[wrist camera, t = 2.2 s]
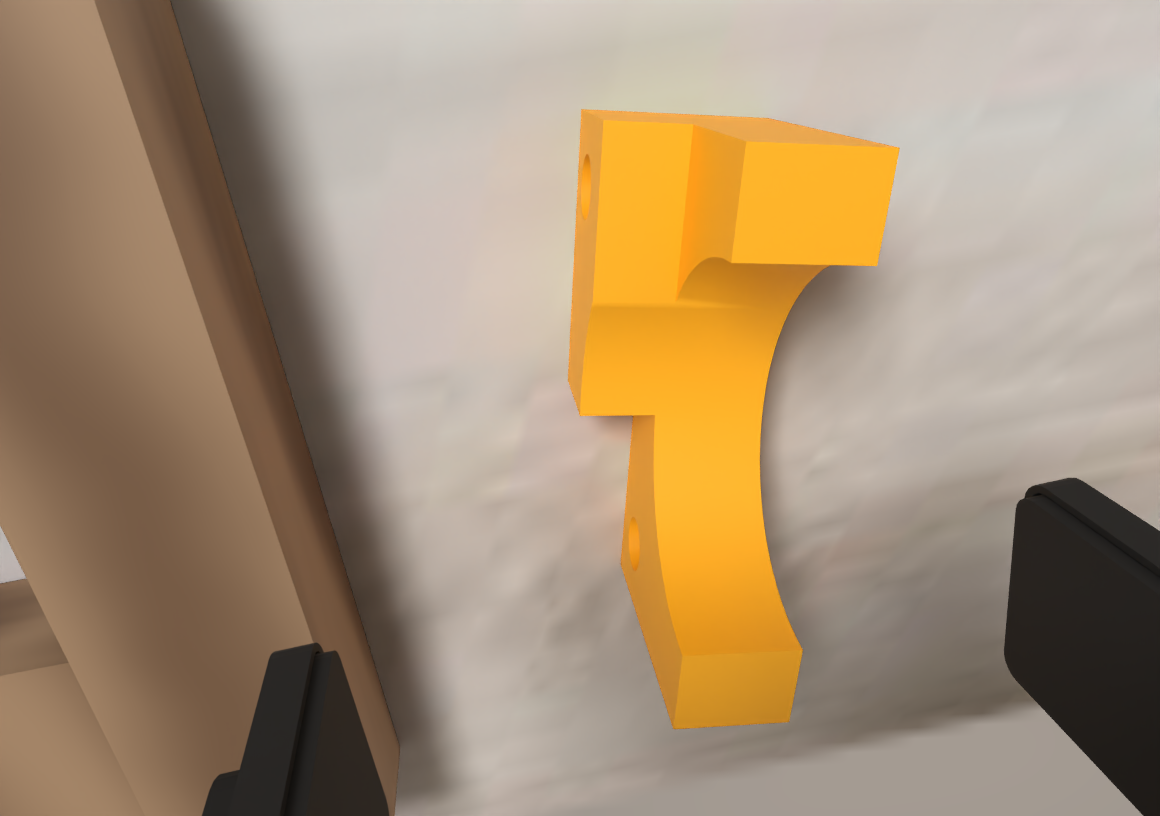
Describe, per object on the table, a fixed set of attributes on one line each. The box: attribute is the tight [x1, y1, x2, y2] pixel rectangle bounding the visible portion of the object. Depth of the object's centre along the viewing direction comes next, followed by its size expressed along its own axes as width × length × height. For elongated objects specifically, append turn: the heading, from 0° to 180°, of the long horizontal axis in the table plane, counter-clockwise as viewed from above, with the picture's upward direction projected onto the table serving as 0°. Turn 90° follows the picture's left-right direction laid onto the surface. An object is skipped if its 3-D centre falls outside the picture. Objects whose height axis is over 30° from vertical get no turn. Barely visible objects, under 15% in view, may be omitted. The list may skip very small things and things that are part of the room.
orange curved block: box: [568, 109, 900, 729], centre depth 18 cm, size 12×4×6 cm, turn 177°
